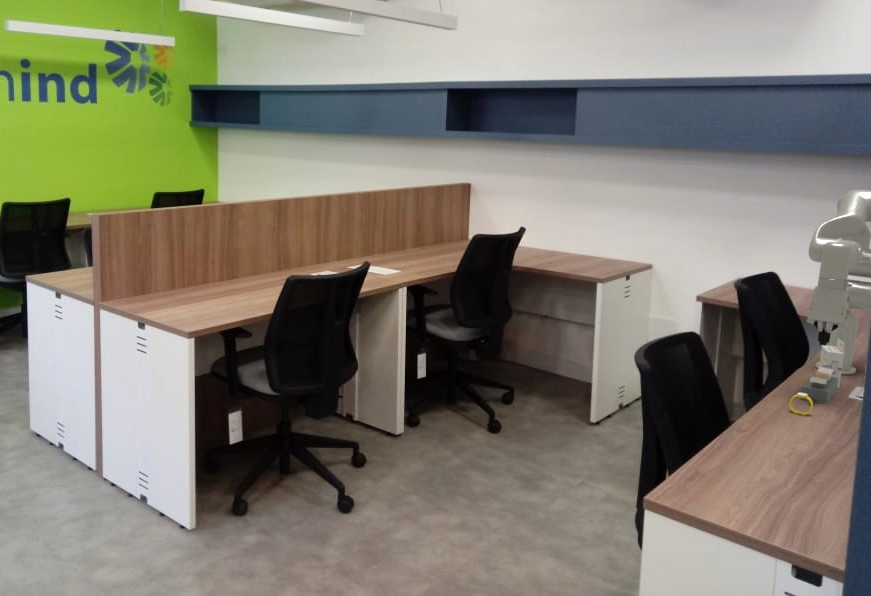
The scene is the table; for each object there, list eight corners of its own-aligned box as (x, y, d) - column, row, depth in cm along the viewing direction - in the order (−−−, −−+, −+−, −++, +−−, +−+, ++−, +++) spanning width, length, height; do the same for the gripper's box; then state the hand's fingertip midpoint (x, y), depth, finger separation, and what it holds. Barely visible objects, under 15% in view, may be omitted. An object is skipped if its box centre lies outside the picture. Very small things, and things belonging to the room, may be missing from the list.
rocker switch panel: (812, 385, 254) (814, 371, 253) (836, 390, 250) (838, 375, 249) (797, 402, 236) (800, 387, 235) (823, 408, 232) (825, 392, 231)
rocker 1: (819, 370, 251) (819, 366, 250) (832, 373, 248) (833, 369, 248) (815, 378, 247) (815, 373, 246) (829, 380, 244) (829, 376, 244)
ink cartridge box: (816, 379, 261) (822, 335, 258) (832, 380, 261) (838, 337, 257) (823, 386, 253) (829, 342, 250) (839, 388, 252) (846, 343, 249)
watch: (788, 413, 227) (789, 393, 226) (790, 410, 230) (791, 391, 229) (810, 416, 224) (812, 396, 223) (812, 414, 226) (814, 394, 225)
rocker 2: (812, 380, 244) (813, 376, 243) (826, 383, 241) (827, 378, 241) (809, 381, 239) (810, 376, 239) (824, 384, 237) (825, 379, 237)
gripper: (862, 286, 231) (852, 346, 235) (807, 279, 240) (798, 337, 243) (858, 289, 225) (848, 351, 229) (802, 282, 234) (793, 342, 237)
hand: (823, 344), depth 236 cm, fingers closed
